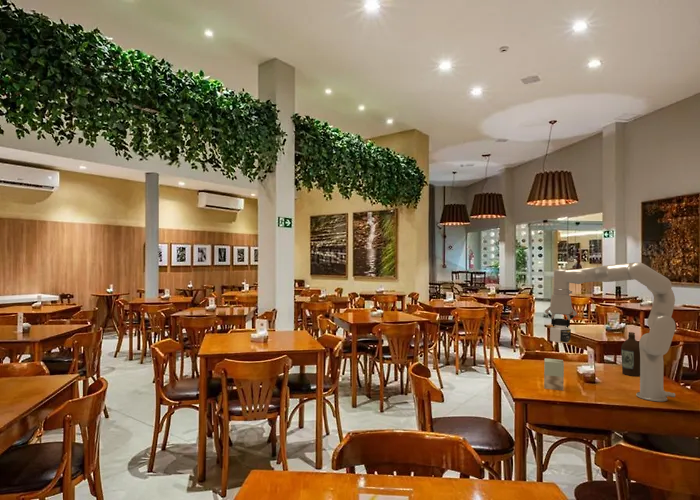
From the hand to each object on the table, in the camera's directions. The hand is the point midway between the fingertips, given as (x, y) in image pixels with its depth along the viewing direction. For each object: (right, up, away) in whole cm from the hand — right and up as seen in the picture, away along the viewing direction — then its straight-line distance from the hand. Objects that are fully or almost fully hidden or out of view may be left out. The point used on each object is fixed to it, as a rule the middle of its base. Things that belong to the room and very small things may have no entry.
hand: (560, 326), depth 237 cm
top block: (-3, -25, +1) cm, 25 cm away
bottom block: (-3, -32, 0) cm, 32 cm away
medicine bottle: (0, -8, 0) cm, 8 cm away
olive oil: (+57, -34, +32) cm, 74 cm away
